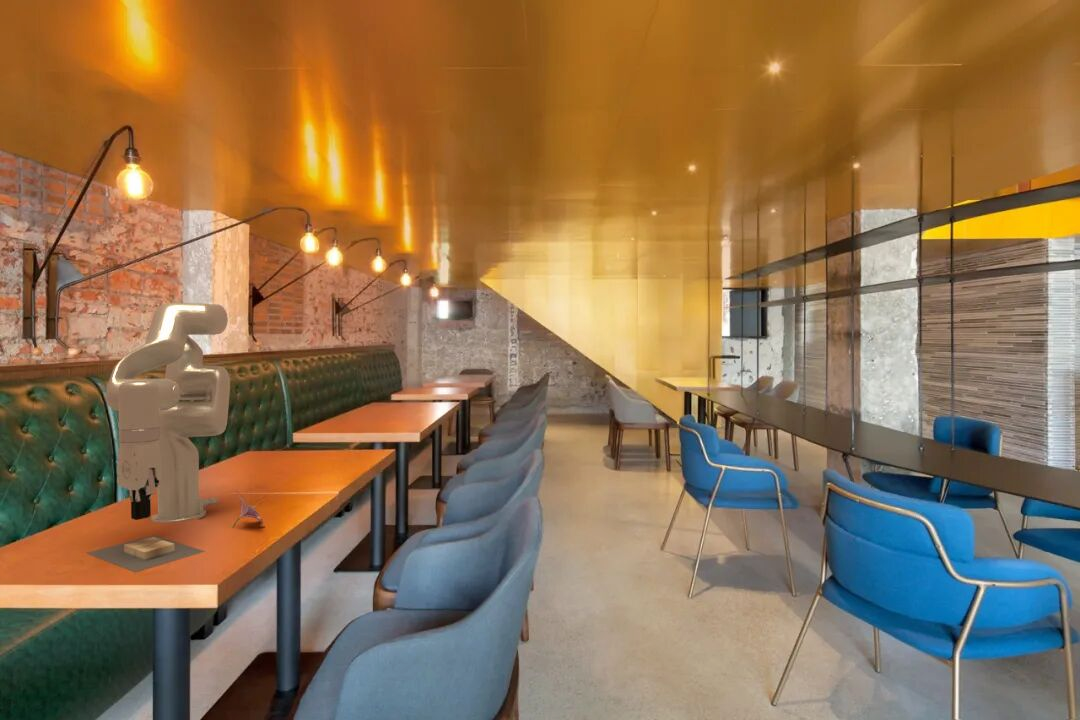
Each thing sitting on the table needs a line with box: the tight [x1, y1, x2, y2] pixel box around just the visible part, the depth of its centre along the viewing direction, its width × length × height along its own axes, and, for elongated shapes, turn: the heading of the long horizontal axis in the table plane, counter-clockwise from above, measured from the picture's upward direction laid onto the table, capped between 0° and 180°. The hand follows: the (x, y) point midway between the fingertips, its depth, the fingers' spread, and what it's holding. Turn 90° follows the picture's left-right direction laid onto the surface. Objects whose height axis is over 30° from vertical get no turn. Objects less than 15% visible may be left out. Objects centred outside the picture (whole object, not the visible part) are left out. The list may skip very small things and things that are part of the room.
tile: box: [124, 537, 175, 561], centre depth 127 cm, size 6×2×9 cm
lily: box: [232, 490, 265, 529], centre depth 148 cm, size 12×12×10 cm
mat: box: [86, 534, 206, 573], centre depth 128 cm, size 14×22×1 cm, turn 60°
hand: (141, 517), depth 128 cm, fingers closed
